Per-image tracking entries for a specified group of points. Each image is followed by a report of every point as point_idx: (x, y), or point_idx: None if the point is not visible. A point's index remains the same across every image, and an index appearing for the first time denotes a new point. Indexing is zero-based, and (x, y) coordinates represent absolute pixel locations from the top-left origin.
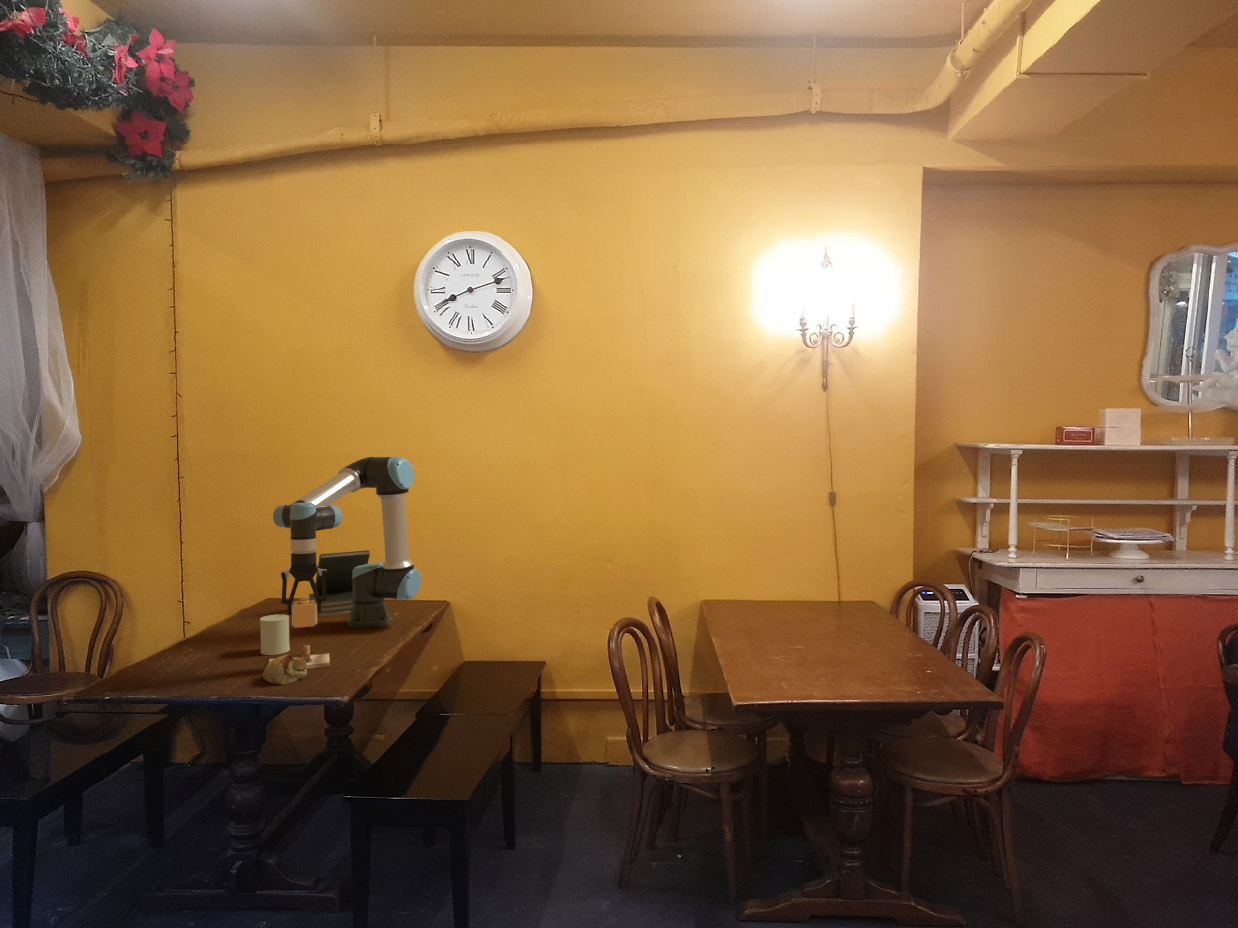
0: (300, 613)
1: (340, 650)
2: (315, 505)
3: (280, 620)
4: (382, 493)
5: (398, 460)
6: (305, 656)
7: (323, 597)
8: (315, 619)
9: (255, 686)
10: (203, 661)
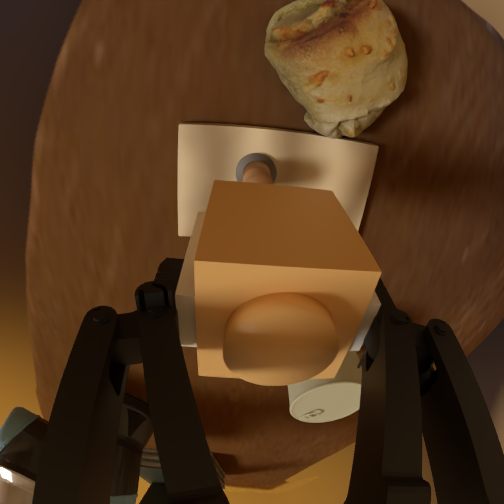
0: (313, 228)
1: (151, 279)
2: None
3: (322, 384)
4: None
5: None
6: (260, 165)
7: (106, 329)
8: None
9: (415, 29)
10: (450, 306)
